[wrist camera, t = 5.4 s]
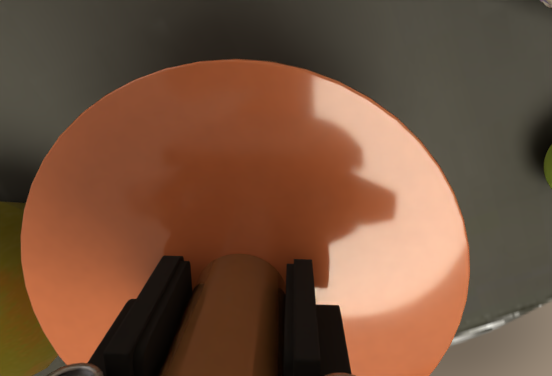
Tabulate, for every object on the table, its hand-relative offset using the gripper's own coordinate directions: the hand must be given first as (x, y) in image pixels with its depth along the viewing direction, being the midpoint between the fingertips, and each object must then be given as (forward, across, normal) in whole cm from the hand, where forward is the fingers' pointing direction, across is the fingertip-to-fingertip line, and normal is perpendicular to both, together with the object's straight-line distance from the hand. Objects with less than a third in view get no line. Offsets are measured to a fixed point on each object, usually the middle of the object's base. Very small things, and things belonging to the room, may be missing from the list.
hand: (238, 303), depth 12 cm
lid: (+1, 0, 0) cm, 1 cm away
